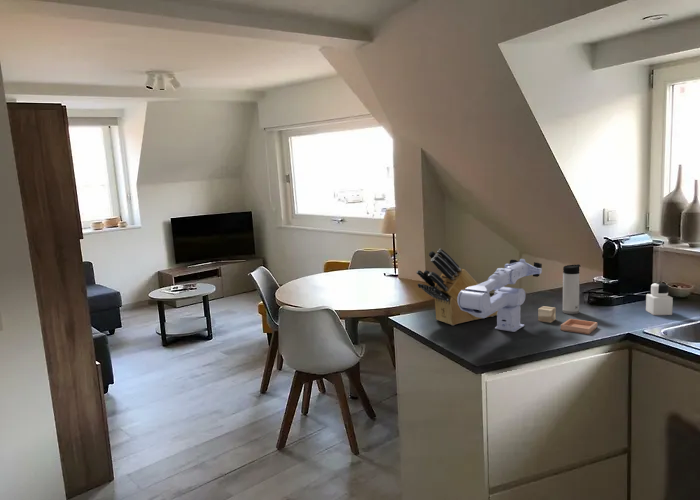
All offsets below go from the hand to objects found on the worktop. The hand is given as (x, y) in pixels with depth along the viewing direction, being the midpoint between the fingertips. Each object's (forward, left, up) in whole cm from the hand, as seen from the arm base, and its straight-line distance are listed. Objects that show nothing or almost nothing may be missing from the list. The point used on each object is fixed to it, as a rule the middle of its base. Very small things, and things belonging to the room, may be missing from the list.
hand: (531, 264), depth 220 cm
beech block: (-3, -8, -21) cm, 23 cm away
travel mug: (+13, -12, -21) cm, 27 cm away
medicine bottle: (+29, -41, -21) cm, 54 cm away
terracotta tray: (-8, -22, -21) cm, 31 cm away
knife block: (-21, +22, -21) cm, 37 cm away
